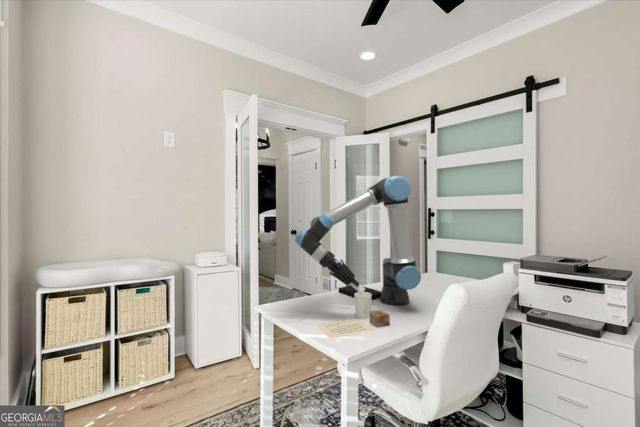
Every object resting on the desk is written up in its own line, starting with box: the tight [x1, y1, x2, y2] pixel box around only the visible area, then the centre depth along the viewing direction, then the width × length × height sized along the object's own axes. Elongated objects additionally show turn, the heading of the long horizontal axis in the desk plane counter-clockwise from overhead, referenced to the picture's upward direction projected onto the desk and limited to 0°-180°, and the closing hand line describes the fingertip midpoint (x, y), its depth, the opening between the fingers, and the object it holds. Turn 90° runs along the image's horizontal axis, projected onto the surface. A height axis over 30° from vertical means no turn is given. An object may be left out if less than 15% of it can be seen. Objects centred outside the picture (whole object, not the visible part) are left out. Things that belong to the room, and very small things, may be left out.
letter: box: [316, 317, 377, 339], centre depth 129 cm, size 20×15×1 cm
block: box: [369, 309, 391, 328], centre depth 132 cm, size 6×6×5 cm
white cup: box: [354, 292, 373, 319], centre depth 143 cm, size 8×8×10 cm
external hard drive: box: [338, 285, 381, 301], centre depth 178 cm, size 14×23×3 cm, turn 34°
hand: (363, 291), depth 139 cm, fingers closed
